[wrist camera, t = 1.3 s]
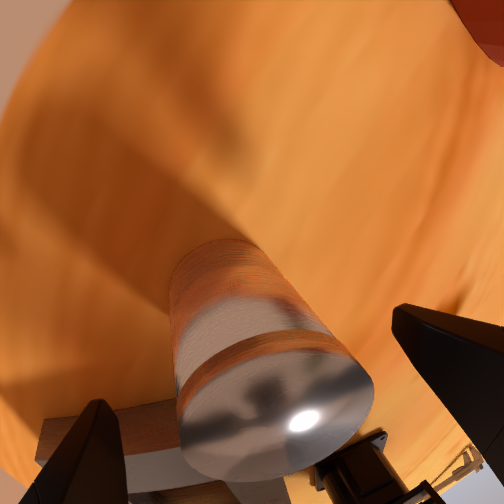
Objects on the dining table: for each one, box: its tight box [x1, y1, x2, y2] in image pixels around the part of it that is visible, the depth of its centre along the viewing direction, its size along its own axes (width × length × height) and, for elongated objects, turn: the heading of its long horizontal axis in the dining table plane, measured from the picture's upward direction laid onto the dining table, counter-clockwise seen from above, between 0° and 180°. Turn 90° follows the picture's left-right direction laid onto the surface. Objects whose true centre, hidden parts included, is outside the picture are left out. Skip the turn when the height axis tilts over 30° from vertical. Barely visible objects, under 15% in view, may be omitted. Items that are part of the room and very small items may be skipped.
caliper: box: [414, 446, 484, 504], centre depth 37 cm, size 20×1×6 cm, turn 159°
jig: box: [35, 398, 291, 504], centre depth 14 cm, size 14×12×3 cm
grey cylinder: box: [169, 239, 374, 482], centre depth 9 cm, size 4×4×7 cm
